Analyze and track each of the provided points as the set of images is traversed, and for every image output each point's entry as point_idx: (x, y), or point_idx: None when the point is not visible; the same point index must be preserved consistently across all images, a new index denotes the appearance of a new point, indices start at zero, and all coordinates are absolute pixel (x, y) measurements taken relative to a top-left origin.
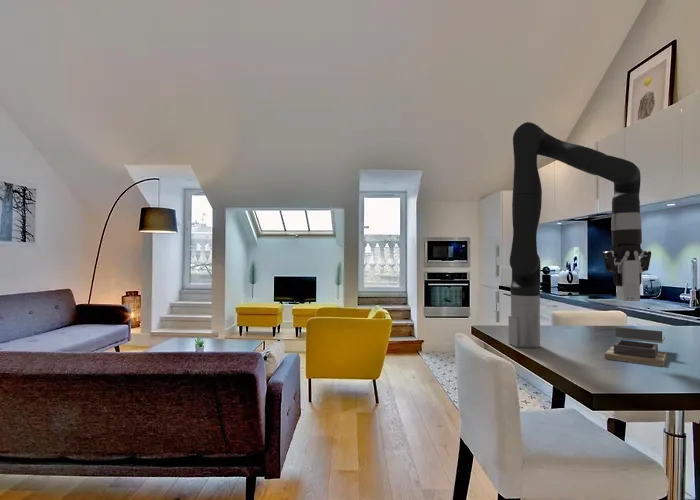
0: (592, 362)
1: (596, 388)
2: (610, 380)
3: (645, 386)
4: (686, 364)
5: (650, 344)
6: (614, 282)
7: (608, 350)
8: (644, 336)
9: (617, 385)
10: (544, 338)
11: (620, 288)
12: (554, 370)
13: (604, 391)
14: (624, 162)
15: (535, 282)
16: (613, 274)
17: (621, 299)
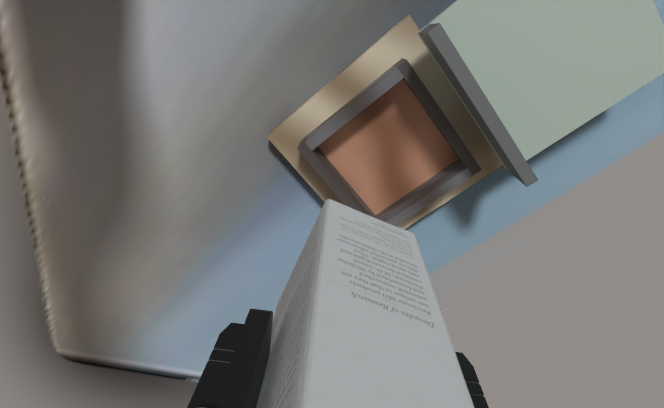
0: (195, 166)
1: (77, 337)
2: (137, 306)
3: (184, 346)
4: (458, 238)
5: (460, 157)
6: (220, 341)
7: (319, 94)
8: (483, 128)
9: (131, 332)
10: None
11: (285, 312)
12: (39, 218)
13: (83, 351)
14: None
15: None
16: (189, 403)
17: (292, 271)
